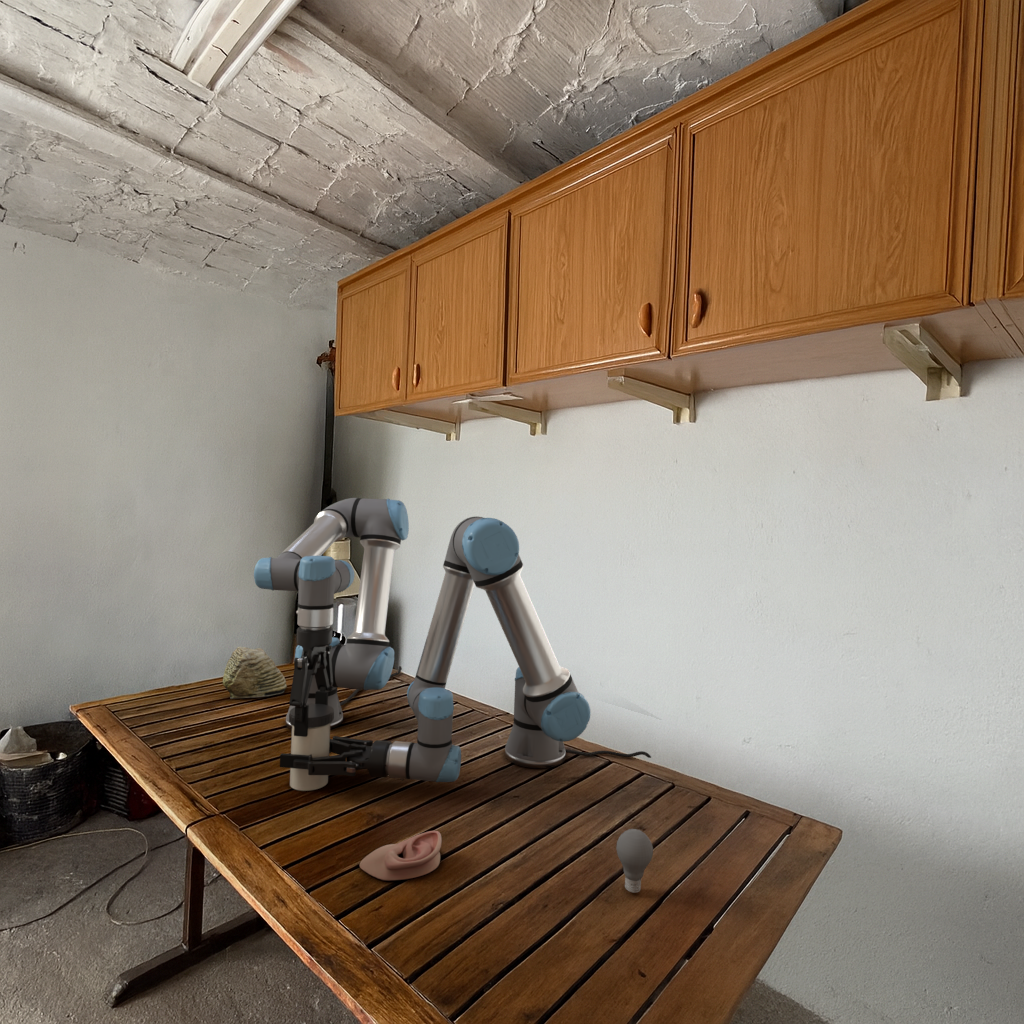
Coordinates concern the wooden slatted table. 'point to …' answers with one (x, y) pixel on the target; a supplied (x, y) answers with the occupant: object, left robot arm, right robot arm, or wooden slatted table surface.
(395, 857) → the anatomical model
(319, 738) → the jar
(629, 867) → the light bulb
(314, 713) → the lid
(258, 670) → the fossil
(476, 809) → the wooden slatted table surface
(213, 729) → the wooden slatted table surface
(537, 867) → the wooden slatted table surface
